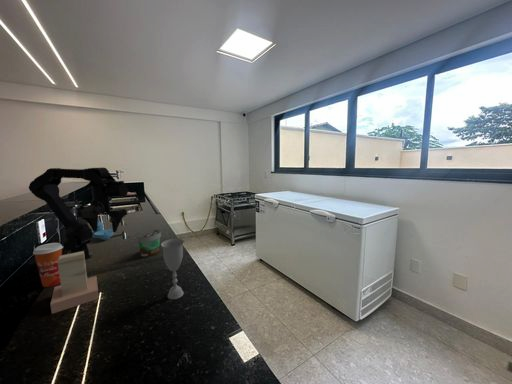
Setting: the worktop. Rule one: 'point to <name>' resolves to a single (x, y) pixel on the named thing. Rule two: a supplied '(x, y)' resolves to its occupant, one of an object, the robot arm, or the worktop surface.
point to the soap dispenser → (102, 232)
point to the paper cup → (48, 263)
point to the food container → (150, 244)
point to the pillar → (72, 273)
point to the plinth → (74, 296)
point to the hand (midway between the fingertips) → (105, 231)
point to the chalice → (173, 263)
